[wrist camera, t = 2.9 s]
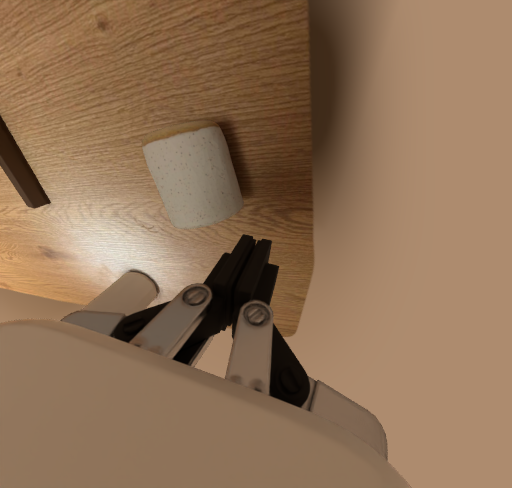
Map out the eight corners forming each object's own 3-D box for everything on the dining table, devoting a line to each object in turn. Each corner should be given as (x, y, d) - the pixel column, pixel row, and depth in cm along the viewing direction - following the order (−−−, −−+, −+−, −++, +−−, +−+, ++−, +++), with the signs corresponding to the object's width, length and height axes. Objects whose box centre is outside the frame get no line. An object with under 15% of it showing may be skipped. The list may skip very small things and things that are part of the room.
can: (120, 269, 39) (56, 319, 30) (147, 268, 37) (85, 324, 27) (140, 294, 43) (89, 347, 34) (166, 296, 40) (117, 353, 31)
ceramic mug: (231, 113, 18) (182, 116, 12) (253, 197, 22) (225, 230, 16) (151, 141, 22) (84, 154, 16) (182, 207, 26) (138, 237, 20)
